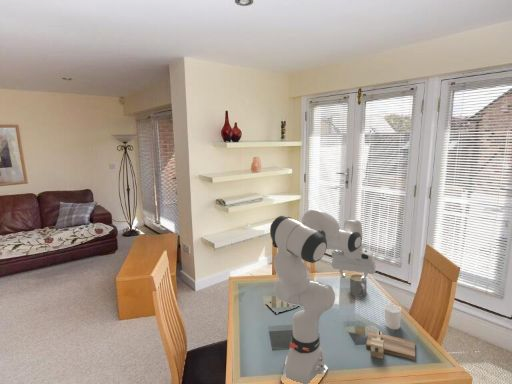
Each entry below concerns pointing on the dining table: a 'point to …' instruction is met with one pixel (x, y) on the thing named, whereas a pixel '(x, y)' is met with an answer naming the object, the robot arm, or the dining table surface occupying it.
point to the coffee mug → (358, 285)
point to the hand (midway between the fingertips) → (353, 279)
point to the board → (394, 345)
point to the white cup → (392, 316)
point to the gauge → (377, 346)
